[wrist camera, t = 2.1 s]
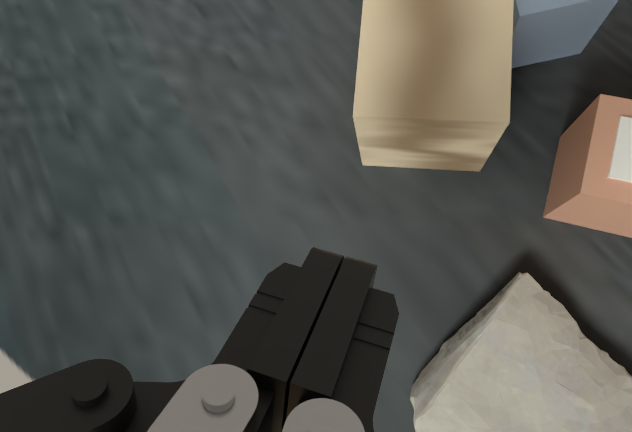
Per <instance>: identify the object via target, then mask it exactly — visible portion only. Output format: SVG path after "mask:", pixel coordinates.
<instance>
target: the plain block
mask: <svg viewBox="0 0 632 432" xmlns="http://www.w3.org/2000/svg"><path fill="white" fill-rule="evenodd" d="M513 8H514V0H363V9H362V20H361V31H360V42H359V53H358V64H357V75H356V86H355V97H354V108H353V120H354V125H355V130H356V135H357V140H358V145H359V150H360V155H361V160H362V165H368V166H387V167H405V168H424V169H443V170H461V171H480V170H481V169H482V167H483V166H484V164H485V162H486V161H487V159H488V157H489V156H490V154H491V152H492V151H493V149H494V147H495V146H496V144H497V142H498V141H499V139H500V137H501V136H502V134H503V133H504V131H505V129H506V128H507V126H508V124H509V123H510V99H511V68H512V38H513Z"/></svg>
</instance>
